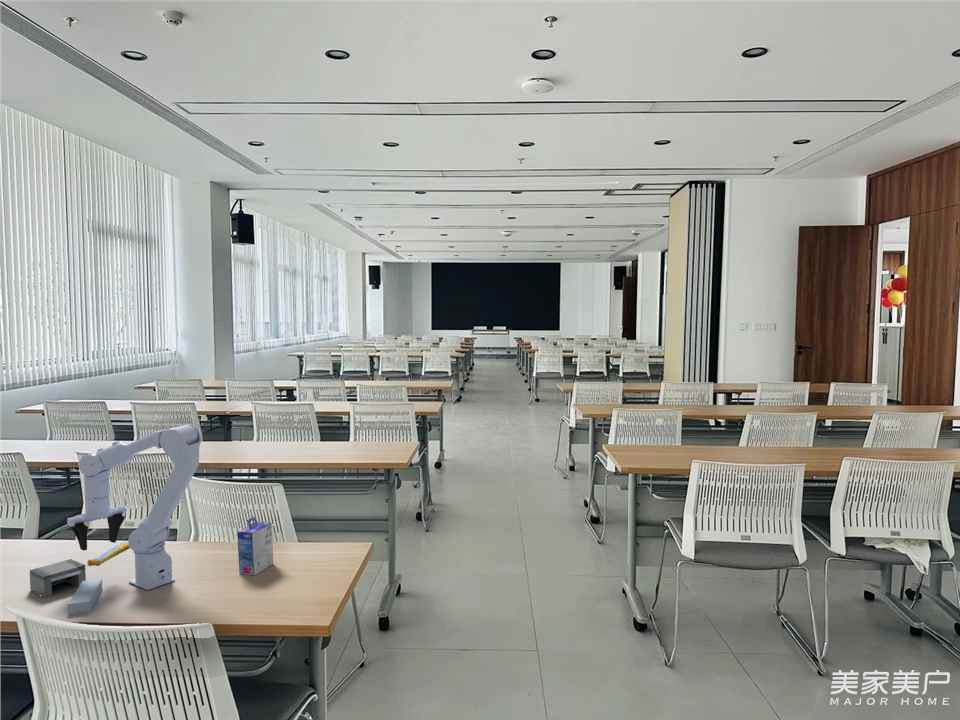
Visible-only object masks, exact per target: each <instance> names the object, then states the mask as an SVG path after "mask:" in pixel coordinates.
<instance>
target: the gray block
mask: <svg viewBox="0 0 960 720" xmlns="http://www.w3.org/2000/svg"><path fill="white" fill-rule="evenodd" d="M65 581H67V582H66V583H68V582H69V583H68V584H71V585H73V586H75V587H77V588H79V586H80V585H81V583H82V581H87V577H86V564H84V563H82V562H80V561H76V560H74V559H67V560H62V561H59V562H55V563H52V564H47V565H44V566H41V567H37V568H33V569H30V570H29V588H30V589H29V591H30V590H31V591H30V592H32V591H33V592H32V593H34V592H35V593H34V594H36V593H37V594H36V595H38V594H39V595H38V596H40V595H41V596H40V597H42V596H43V597H42V598H44V597H46V598H49V597H52V596H53V589H52V588H53V587H52V586H55V585H54V584H56V585H59V584H62V583H65ZM58 583H59V584H58ZM51 595H52V596H51ZM48 596H49V597H48Z"/></svg>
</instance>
